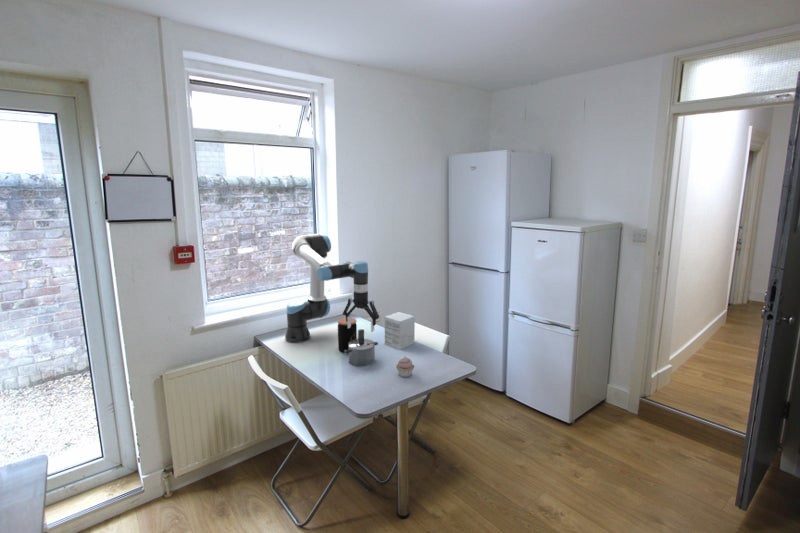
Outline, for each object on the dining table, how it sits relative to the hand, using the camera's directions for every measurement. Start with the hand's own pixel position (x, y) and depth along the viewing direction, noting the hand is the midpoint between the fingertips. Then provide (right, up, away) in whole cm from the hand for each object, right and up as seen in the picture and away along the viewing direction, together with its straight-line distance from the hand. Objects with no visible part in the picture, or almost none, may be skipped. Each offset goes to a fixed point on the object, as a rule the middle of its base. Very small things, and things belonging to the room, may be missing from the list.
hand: (360, 329), depth 214 cm
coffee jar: (-9, -15, +17) cm, 25 cm away
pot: (0, -18, +3) cm, 18 cm away
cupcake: (+23, -21, -12) cm, 34 cm away
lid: (0, -10, +2) cm, 11 cm away
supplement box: (+21, -13, +27) cm, 37 cm away
